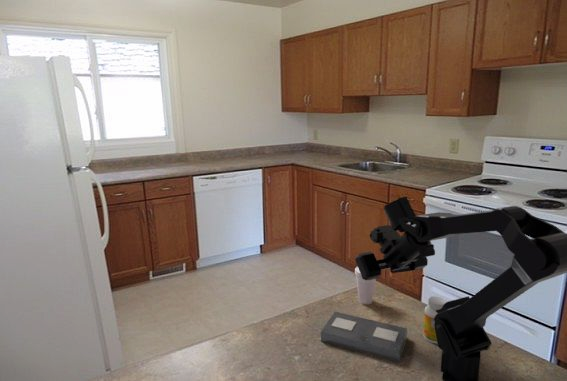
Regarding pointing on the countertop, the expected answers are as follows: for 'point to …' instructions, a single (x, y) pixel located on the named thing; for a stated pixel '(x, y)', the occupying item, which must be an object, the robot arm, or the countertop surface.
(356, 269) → the smoothie
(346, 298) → the countertop surface
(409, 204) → the robot arm
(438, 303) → the supplement bottle
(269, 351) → the countertop surface
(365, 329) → the label box
